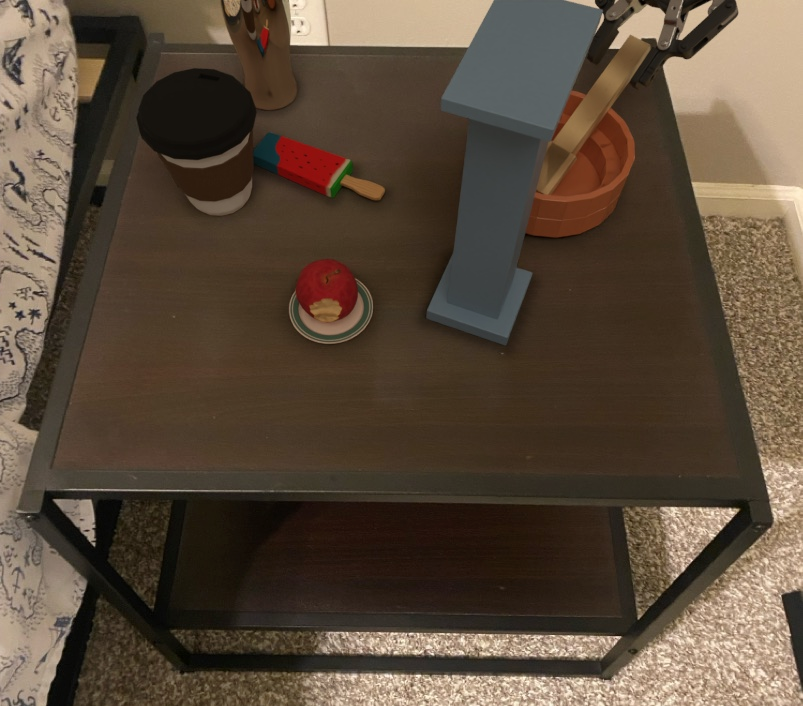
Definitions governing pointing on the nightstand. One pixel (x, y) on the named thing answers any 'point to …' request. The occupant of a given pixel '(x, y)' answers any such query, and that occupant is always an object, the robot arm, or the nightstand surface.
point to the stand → (506, 152)
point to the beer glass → (263, 48)
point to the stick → (590, 113)
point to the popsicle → (311, 167)
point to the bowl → (586, 179)
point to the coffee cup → (202, 136)
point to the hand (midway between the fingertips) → (612, 73)
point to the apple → (329, 303)
